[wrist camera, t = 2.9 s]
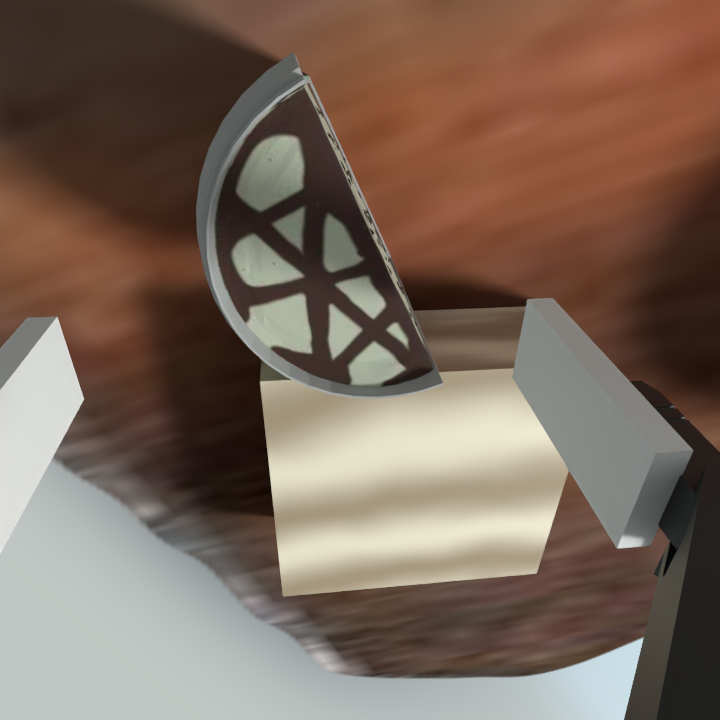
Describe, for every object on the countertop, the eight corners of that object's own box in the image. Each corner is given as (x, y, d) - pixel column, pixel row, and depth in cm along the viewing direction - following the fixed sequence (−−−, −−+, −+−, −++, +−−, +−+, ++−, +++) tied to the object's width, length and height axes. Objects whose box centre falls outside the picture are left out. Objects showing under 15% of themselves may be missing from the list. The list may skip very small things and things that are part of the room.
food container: (164, 107, 23) (94, 165, 15) (292, 38, 22) (294, 58, 14) (299, 329, 30) (304, 455, 21) (402, 282, 29) (448, 394, 21)
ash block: (264, 316, 29) (259, 381, 24) (550, 305, 31) (601, 363, 26) (283, 518, 38) (283, 596, 33) (505, 501, 39) (536, 573, 34)
